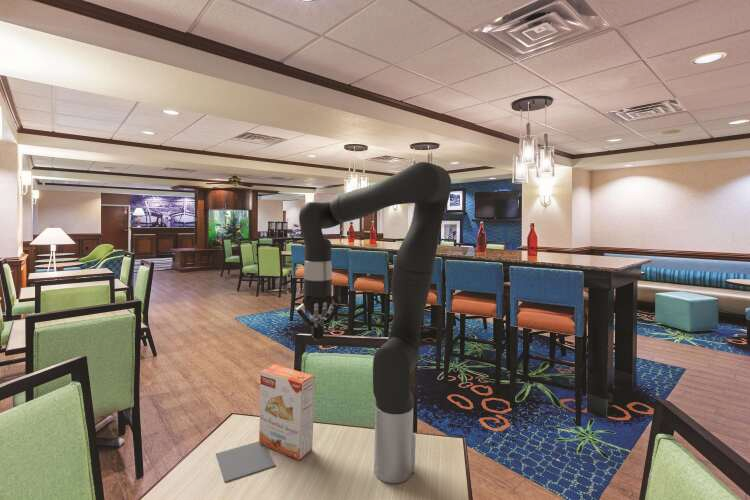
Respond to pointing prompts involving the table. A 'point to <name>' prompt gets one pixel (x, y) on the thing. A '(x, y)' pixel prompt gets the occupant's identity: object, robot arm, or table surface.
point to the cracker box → (286, 410)
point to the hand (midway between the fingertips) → (317, 339)
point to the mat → (244, 461)
